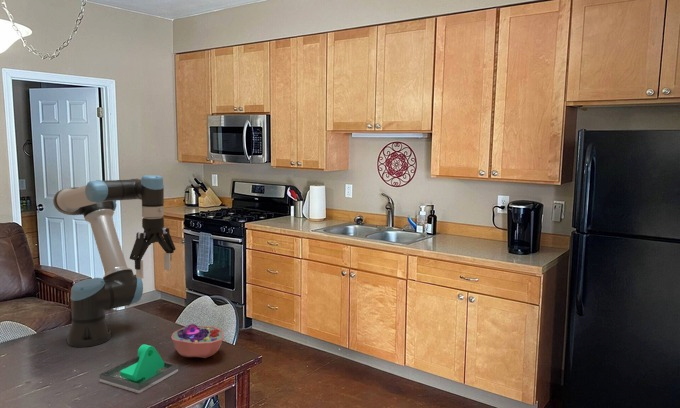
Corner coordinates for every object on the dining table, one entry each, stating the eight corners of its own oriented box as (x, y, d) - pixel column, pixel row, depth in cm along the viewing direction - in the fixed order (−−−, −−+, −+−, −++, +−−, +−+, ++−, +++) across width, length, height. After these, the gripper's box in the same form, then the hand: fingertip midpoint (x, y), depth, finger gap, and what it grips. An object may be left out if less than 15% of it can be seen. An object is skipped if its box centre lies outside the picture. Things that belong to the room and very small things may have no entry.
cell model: (201, 371, 170) (201, 339, 168) (161, 357, 179) (160, 327, 178) (235, 353, 184) (235, 324, 183) (195, 342, 194) (195, 314, 193)
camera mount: (147, 364, 171) (146, 336, 170) (164, 369, 168) (163, 340, 166) (118, 379, 160) (118, 348, 159) (136, 384, 157) (135, 353, 156)
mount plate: (99, 381, 160) (99, 374, 160) (140, 361, 175) (140, 354, 175) (139, 393, 153) (138, 385, 153) (177, 371, 168) (177, 364, 168)
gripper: (133, 222, 169) (135, 283, 172) (184, 214, 192) (185, 267, 194) (117, 220, 172) (119, 280, 175) (169, 212, 195) (170, 265, 197)
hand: (154, 273), depth 184 cm, fingers open, 13 cm apart
